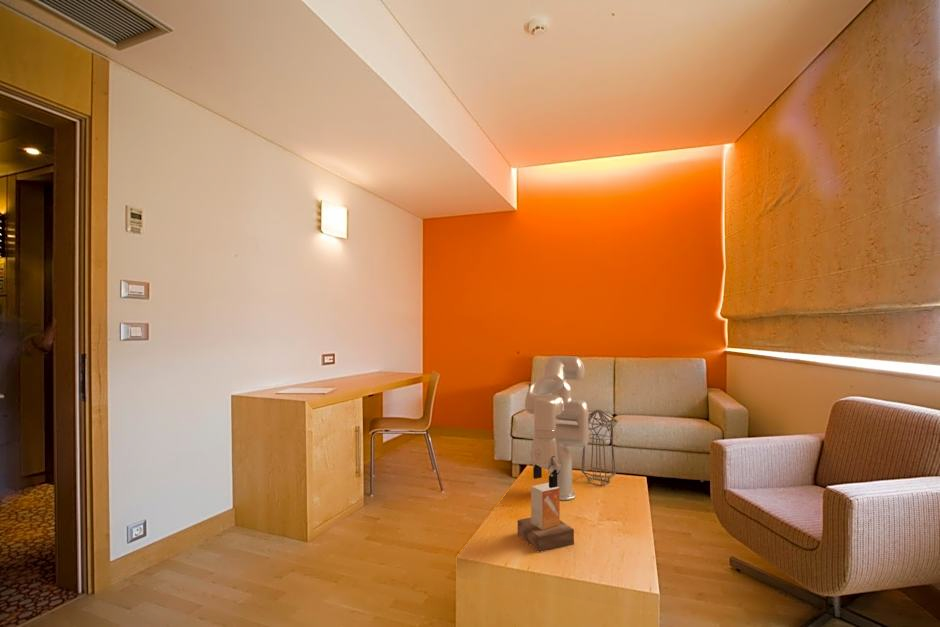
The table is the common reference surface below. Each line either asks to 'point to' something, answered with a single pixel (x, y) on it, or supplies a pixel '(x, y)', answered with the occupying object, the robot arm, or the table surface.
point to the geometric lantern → (599, 446)
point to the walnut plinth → (546, 535)
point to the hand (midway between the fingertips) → (545, 482)
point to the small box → (545, 506)
